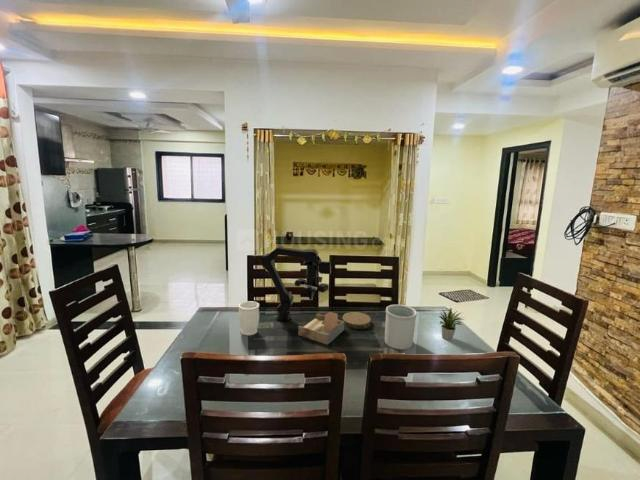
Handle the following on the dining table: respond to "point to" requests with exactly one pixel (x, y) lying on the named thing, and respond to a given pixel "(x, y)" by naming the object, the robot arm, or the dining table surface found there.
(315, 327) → the board
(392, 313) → the utensil holder
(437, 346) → the dining table surface
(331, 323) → the terracotta block
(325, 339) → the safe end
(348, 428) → the dining table surface
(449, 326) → the house plant
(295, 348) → the dining table surface
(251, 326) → the jar
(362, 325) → the wood slice
